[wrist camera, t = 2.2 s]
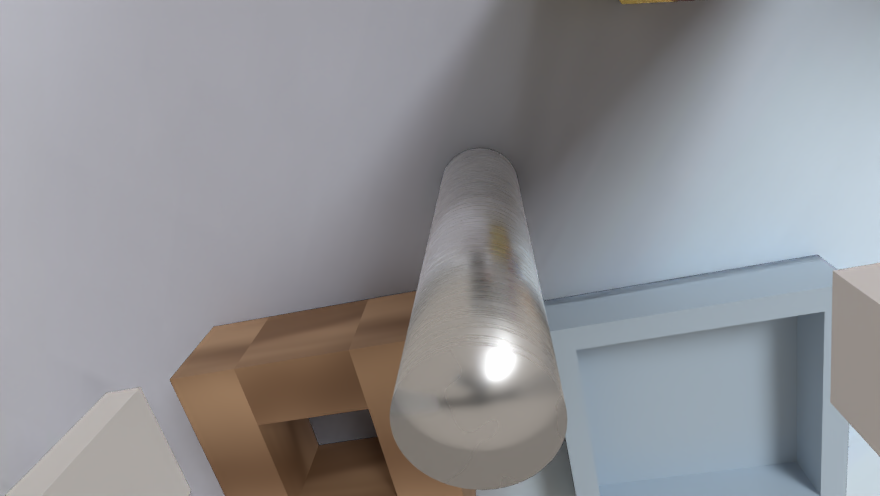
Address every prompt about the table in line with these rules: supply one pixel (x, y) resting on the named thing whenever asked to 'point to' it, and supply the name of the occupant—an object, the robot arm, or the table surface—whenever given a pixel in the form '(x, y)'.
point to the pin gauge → (479, 340)
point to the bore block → (303, 402)
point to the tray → (703, 385)
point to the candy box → (647, 1)
